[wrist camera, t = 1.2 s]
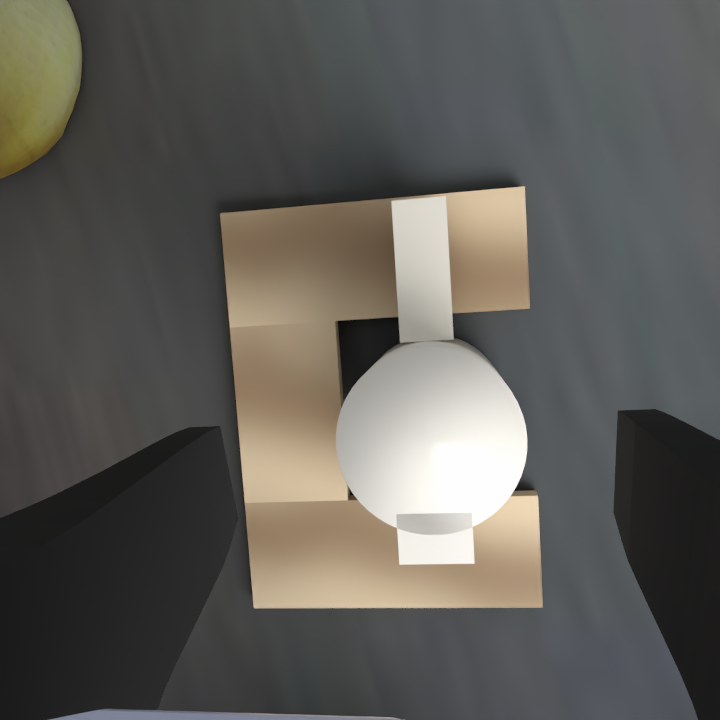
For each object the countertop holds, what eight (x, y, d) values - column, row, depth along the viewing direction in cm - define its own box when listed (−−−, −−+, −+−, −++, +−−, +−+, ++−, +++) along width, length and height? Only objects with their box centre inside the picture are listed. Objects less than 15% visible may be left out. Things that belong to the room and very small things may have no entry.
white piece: (509, 493, 23) (532, 563, 17) (369, 496, 23) (344, 565, 17) (496, 206, 22) (515, 173, 16) (350, 219, 22) (317, 191, 17)
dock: (540, 599, 23) (542, 607, 22) (258, 600, 24) (253, 608, 24) (522, 189, 22) (524, 186, 21) (225, 215, 23) (220, 213, 22)
